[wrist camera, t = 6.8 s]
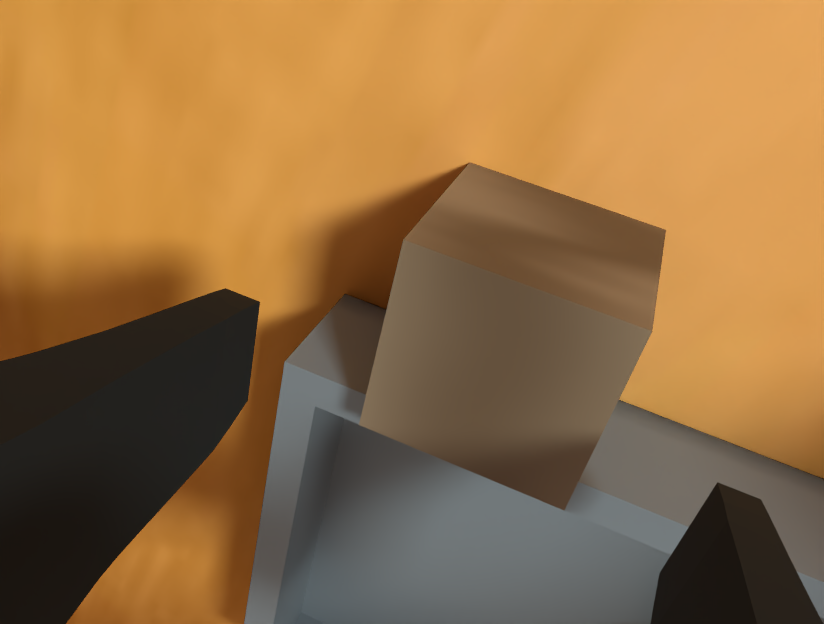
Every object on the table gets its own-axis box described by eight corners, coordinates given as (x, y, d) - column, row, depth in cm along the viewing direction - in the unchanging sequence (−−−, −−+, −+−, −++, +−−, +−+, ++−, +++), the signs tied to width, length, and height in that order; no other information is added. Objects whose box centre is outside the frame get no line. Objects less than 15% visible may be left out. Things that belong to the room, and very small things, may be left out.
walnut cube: (666, 228, 14) (652, 331, 11) (593, 385, 17) (564, 510, 13) (470, 161, 15) (403, 239, 12) (426, 321, 17) (358, 425, 14)
